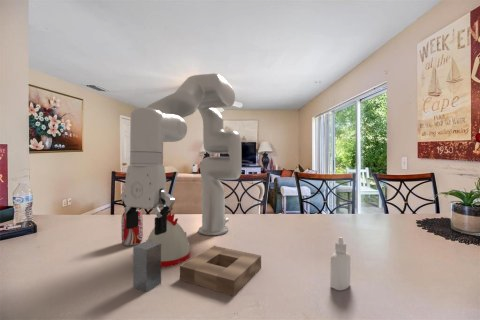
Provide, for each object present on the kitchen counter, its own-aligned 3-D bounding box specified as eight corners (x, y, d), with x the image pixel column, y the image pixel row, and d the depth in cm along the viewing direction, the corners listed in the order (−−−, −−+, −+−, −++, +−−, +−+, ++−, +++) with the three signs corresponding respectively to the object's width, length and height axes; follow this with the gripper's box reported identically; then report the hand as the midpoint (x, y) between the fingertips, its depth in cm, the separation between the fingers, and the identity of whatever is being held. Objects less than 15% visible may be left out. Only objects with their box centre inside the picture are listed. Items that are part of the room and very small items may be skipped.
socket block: (214, 256, 77) (214, 245, 77) (261, 267, 69) (261, 255, 69) (179, 279, 63) (179, 265, 63) (234, 295, 55) (234, 280, 55)
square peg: (148, 279, 63) (148, 240, 62) (160, 283, 61) (160, 243, 60) (133, 287, 59) (133, 246, 59) (146, 292, 57) (146, 249, 56)
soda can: (134, 247, 84) (134, 213, 84) (117, 246, 86) (116, 212, 86) (146, 240, 91) (146, 208, 91) (129, 239, 93) (129, 208, 93)
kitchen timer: (167, 246, 86) (167, 204, 86) (198, 253, 80) (198, 207, 79) (133, 261, 74) (133, 211, 73) (167, 271, 67) (167, 217, 67)
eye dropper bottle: (325, 282, 62) (325, 234, 61) (346, 280, 62) (346, 234, 62) (334, 291, 57) (334, 240, 57) (356, 290, 58) (356, 240, 58)
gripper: (109, 159, 60) (108, 229, 60) (161, 160, 52) (160, 240, 52) (135, 160, 66) (134, 222, 66) (184, 160, 58) (184, 231, 58)
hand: (145, 230), depth 59 cm, fingers open, 9 cm apart
